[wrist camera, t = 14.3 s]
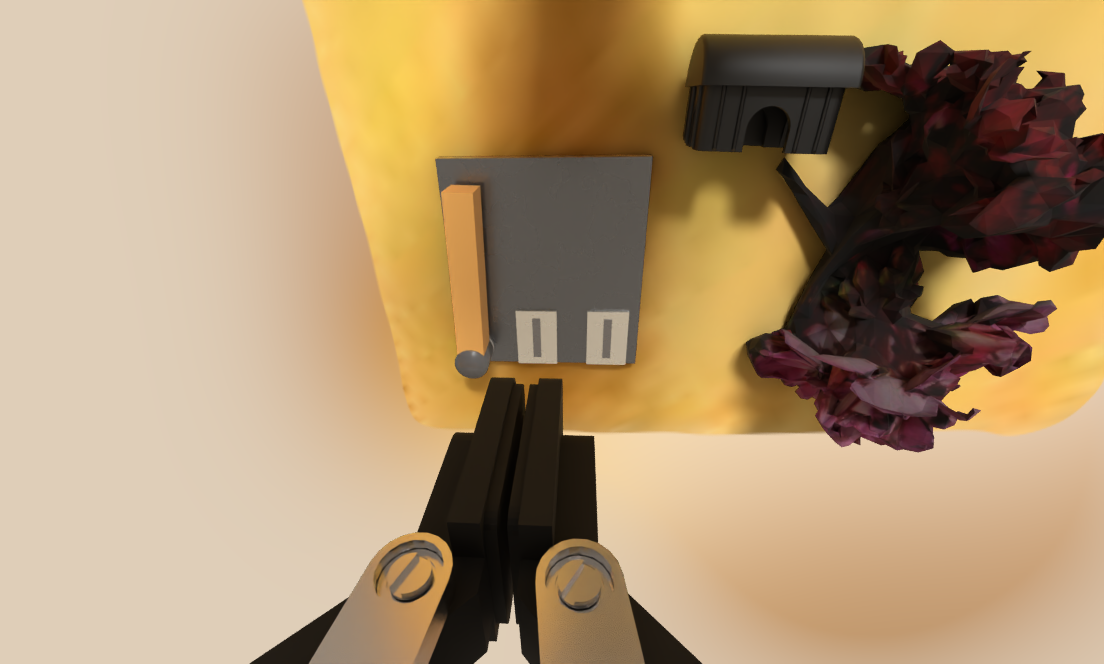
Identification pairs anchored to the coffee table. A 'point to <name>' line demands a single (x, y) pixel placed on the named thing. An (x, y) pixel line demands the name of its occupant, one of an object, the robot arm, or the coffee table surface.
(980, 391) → the coffee table surface
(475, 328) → the bar
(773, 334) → the flower arrangement
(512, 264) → the tray
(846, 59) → the dark grey toy house
